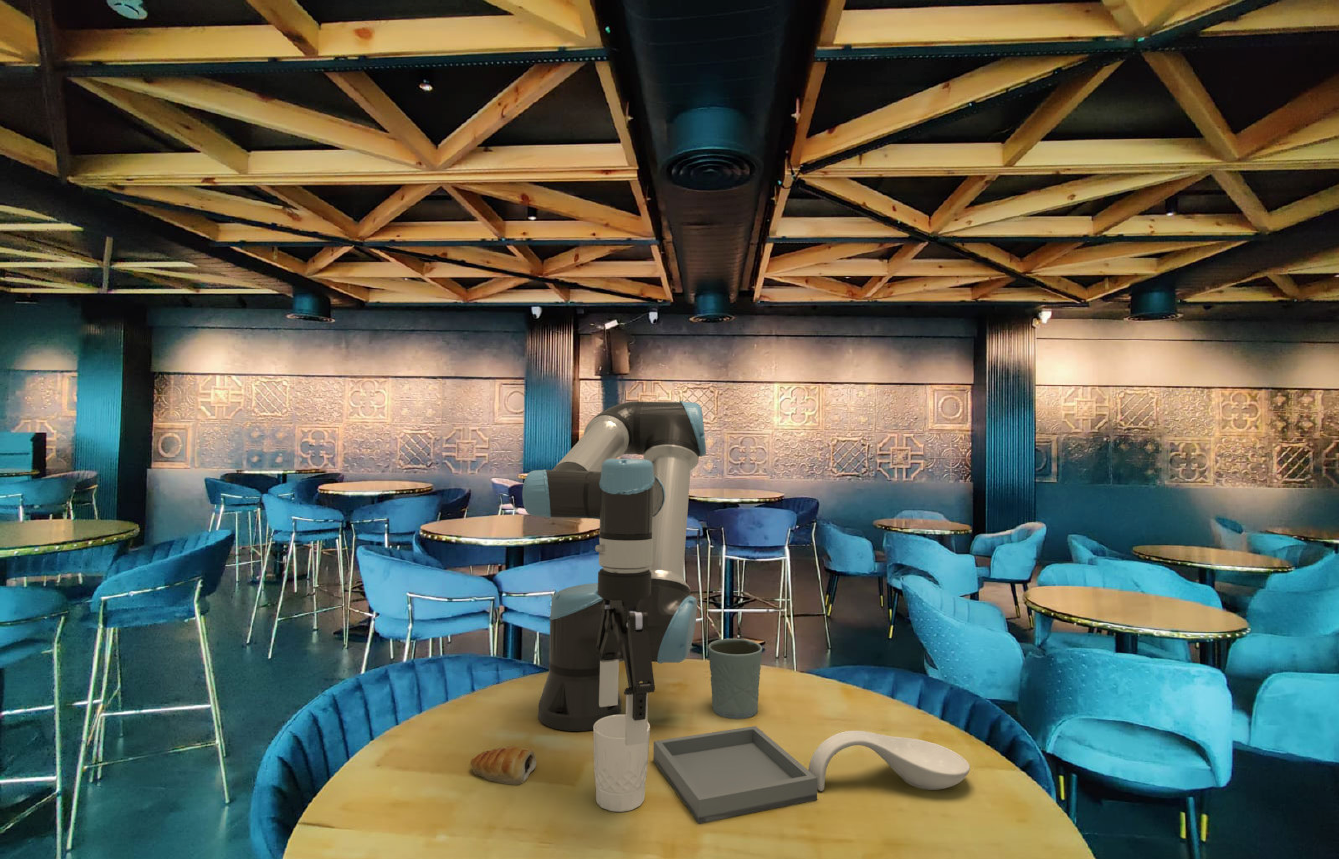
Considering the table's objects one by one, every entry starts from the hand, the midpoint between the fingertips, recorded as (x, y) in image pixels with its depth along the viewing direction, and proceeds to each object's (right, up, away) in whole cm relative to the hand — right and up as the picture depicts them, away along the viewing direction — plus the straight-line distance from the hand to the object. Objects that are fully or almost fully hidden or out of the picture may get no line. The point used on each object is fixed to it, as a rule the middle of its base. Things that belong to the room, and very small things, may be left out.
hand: (621, 723), depth 88 cm
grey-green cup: (+19, -13, +32) cm, 39 cm away
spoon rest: (+39, -12, +6) cm, 42 cm away
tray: (+16, -11, +6) cm, 20 cm away
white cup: (0, -11, 0) cm, 11 cm away
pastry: (-18, -11, +7) cm, 22 cm away
